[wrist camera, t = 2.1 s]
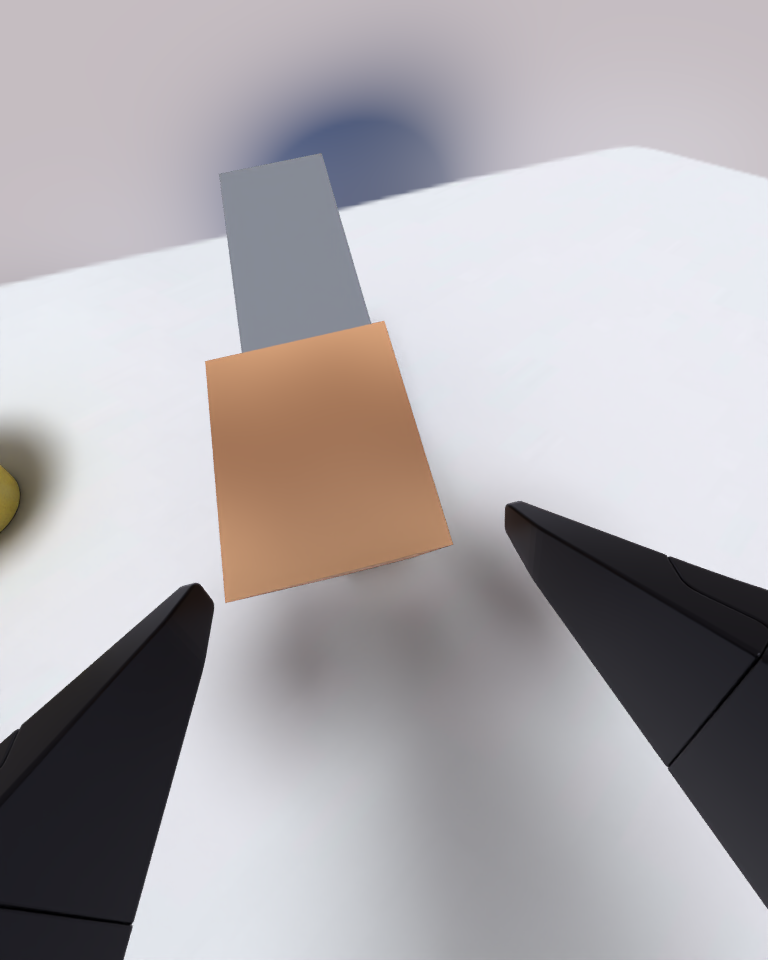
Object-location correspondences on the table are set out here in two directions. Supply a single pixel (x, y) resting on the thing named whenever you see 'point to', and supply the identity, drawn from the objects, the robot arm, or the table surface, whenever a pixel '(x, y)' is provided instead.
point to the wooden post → (317, 463)
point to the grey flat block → (289, 254)
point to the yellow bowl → (8, 497)
